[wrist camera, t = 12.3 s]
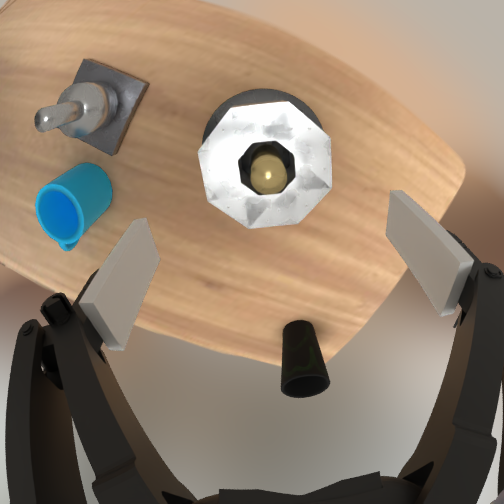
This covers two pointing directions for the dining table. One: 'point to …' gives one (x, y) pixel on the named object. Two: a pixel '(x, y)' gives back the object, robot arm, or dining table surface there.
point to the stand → (95, 106)
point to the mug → (73, 203)
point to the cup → (302, 362)
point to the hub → (263, 153)
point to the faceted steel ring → (239, 182)
